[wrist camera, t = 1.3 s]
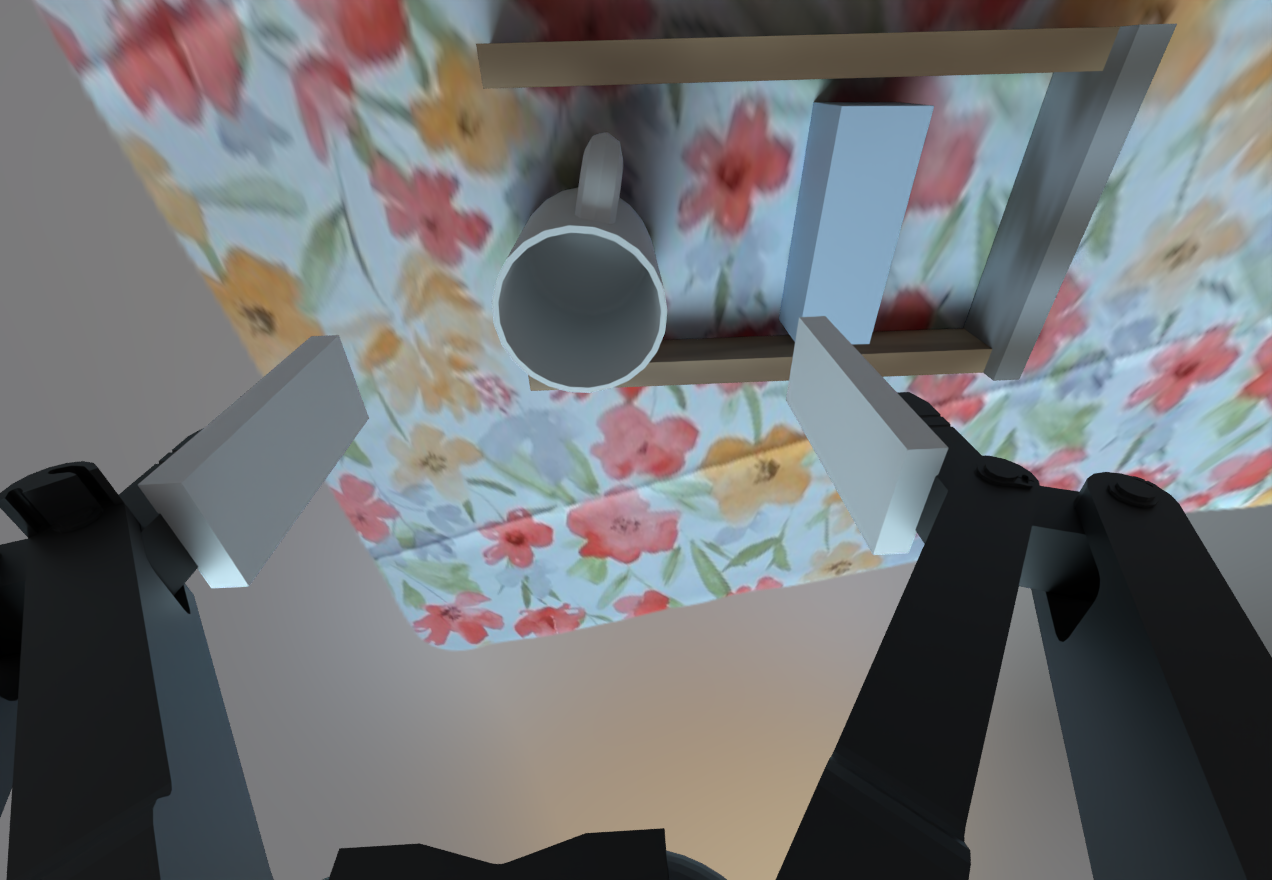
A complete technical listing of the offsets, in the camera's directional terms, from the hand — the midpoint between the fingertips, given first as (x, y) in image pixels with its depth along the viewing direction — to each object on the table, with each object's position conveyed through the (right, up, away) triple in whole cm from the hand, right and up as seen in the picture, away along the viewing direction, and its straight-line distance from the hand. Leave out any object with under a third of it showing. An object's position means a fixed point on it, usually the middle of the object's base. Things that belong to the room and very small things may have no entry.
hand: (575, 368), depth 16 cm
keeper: (+12, +10, +13) cm, 21 cm away
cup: (-1, +9, +13) cm, 16 cm away
